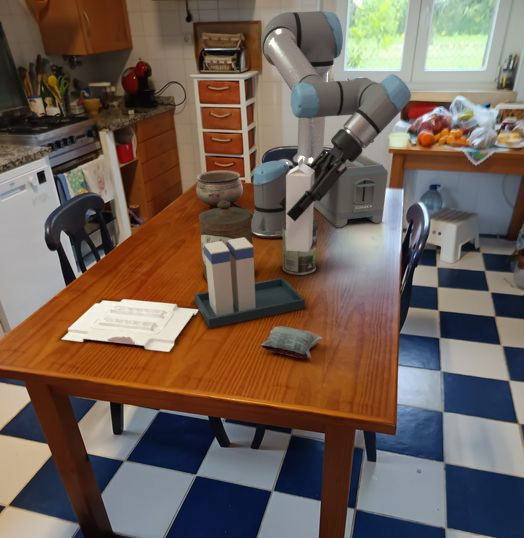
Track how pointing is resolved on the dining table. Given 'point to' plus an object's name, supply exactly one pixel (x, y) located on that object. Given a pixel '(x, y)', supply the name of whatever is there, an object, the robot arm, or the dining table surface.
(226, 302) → the carton
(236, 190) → the cooking pot
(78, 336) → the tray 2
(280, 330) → the packaged food
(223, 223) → the wooden container
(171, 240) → the dining table surface
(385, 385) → the dining table surface
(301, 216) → the milk
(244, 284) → the carton
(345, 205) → the toaster
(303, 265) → the coffee can
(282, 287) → the tray
